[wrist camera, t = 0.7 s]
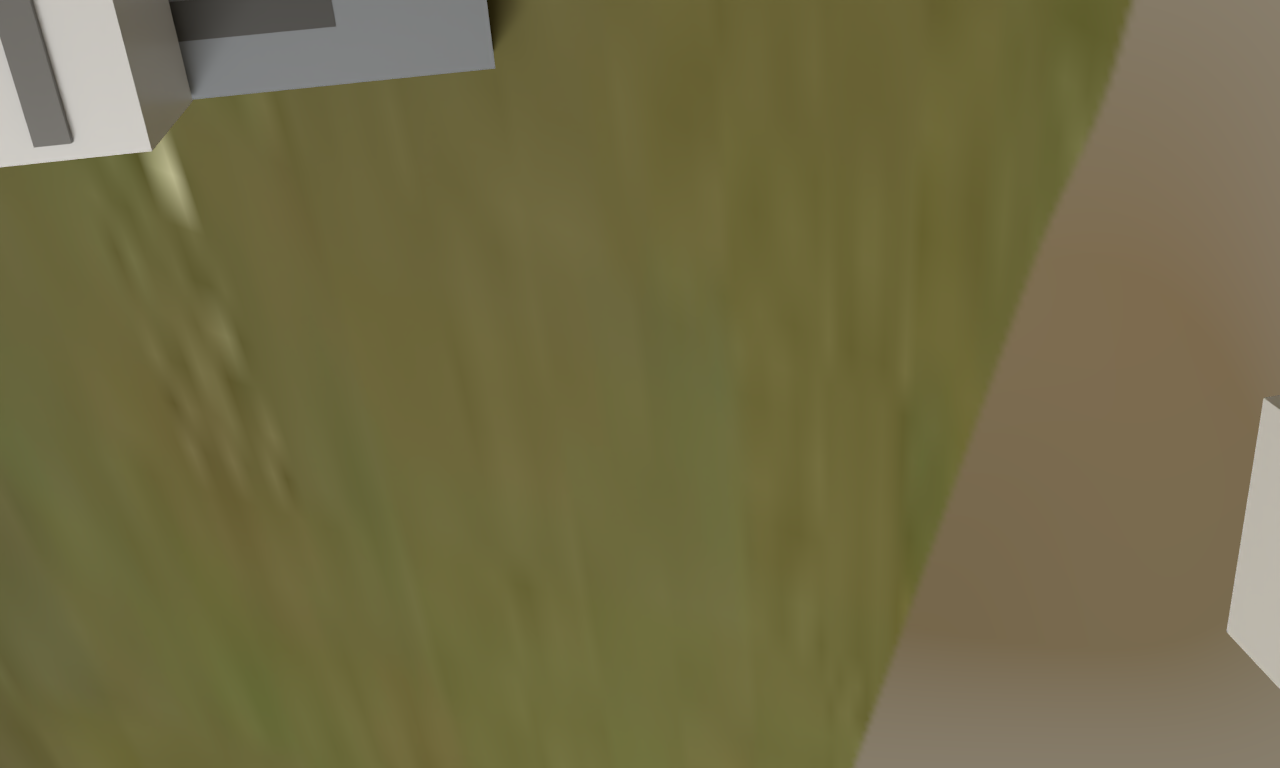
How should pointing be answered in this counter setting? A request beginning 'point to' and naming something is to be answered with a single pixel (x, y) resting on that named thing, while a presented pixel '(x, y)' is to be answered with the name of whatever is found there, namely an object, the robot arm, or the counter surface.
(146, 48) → the fader
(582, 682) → the counter surface
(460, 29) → the console
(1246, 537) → the robot arm
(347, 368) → the counter surface
